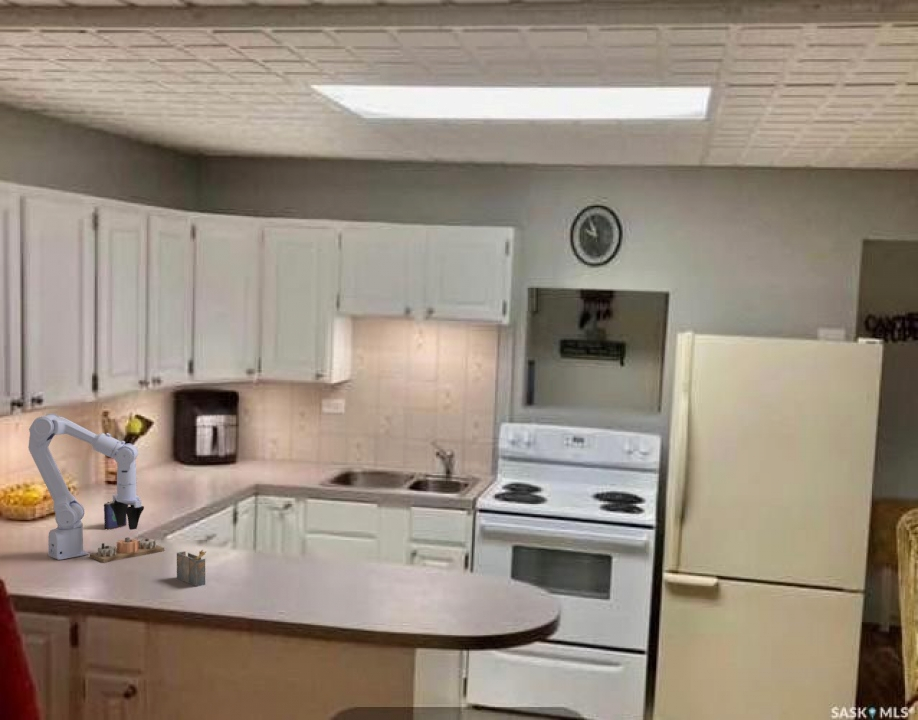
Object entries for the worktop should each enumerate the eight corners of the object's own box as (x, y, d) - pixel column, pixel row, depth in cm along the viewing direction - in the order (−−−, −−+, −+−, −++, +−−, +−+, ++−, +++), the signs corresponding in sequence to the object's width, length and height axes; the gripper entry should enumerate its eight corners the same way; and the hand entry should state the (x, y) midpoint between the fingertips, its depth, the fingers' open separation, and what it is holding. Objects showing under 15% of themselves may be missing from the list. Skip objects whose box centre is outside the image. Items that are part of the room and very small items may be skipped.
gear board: (103, 562, 284) (103, 546, 284) (89, 557, 290) (89, 540, 290) (164, 550, 299) (164, 535, 298) (149, 545, 305) (149, 530, 305)
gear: (123, 554, 290) (123, 544, 290) (113, 550, 294) (113, 541, 294) (141, 550, 295) (141, 541, 295) (131, 547, 299) (131, 537, 299)
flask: (123, 524, 335) (123, 494, 335) (129, 525, 334) (129, 495, 334) (102, 529, 327) (102, 498, 327) (108, 530, 326) (108, 499, 325)
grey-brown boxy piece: (206, 586, 263) (206, 551, 262) (196, 588, 261) (196, 553, 260) (186, 577, 271) (186, 543, 270) (176, 579, 269) (176, 545, 268)
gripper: (150, 485, 291) (150, 528, 292) (127, 479, 301) (127, 521, 302) (128, 488, 286) (129, 532, 287) (106, 481, 296) (106, 524, 297)
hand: (127, 527), depth 294 cm, fingers open, 7 cm apart
